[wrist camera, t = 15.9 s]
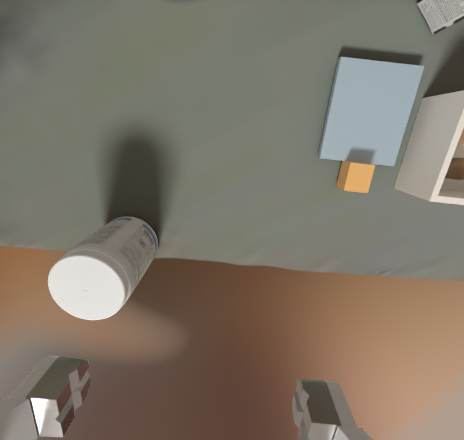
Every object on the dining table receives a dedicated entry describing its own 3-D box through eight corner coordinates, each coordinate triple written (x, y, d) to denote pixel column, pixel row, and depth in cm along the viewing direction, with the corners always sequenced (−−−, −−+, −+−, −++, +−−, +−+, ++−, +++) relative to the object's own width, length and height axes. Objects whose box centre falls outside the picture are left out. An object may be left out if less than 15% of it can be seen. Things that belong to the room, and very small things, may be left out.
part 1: (457, 157, 38) (475, 157, 35) (453, 177, 39) (470, 180, 36) (436, 157, 38) (453, 158, 35) (432, 177, 39) (448, 180, 36)
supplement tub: (100, 254, 46) (39, 307, 32) (111, 206, 43) (49, 242, 29) (152, 272, 46) (115, 331, 33) (167, 226, 44) (133, 270, 30)
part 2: (445, 121, 36) (463, 120, 34) (467, 120, 36) (486, 119, 33) (441, 143, 37) (458, 144, 34) (462, 142, 37) (481, 143, 34)
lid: (335, 60, 35) (347, 52, 32) (414, 69, 35) (435, 62, 32) (310, 182, 41) (318, 187, 37) (379, 190, 41) (393, 195, 37)
